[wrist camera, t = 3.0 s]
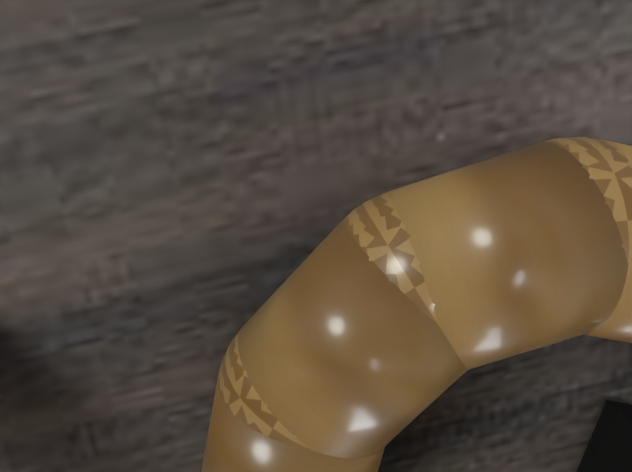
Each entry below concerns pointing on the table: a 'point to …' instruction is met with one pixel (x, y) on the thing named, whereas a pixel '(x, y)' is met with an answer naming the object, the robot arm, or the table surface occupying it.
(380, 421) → the ring
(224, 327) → the table surface
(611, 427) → the robot arm
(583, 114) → the table surface
